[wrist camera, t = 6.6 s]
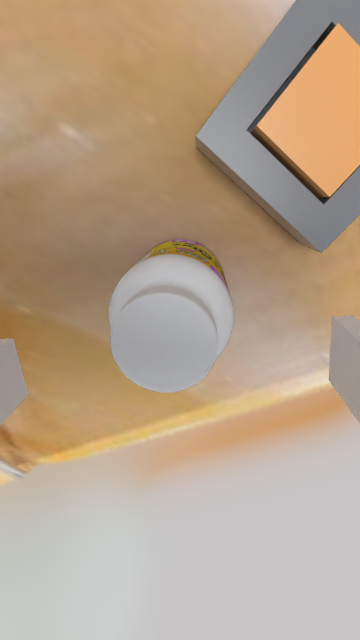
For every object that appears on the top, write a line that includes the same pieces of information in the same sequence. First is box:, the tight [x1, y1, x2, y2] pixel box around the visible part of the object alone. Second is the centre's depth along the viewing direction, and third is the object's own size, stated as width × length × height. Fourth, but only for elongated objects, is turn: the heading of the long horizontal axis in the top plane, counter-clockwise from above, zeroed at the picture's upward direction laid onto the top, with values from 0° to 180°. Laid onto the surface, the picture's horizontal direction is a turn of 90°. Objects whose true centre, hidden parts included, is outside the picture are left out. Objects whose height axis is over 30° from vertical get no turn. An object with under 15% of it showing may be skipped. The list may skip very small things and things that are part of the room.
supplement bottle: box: [109, 239, 234, 393], centre depth 20 cm, size 7×7×13 cm
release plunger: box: [251, 23, 360, 197], centre depth 19 cm, size 6×6×4 cm
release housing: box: [196, 0, 360, 253], centre depth 20 cm, size 10×10×4 cm
